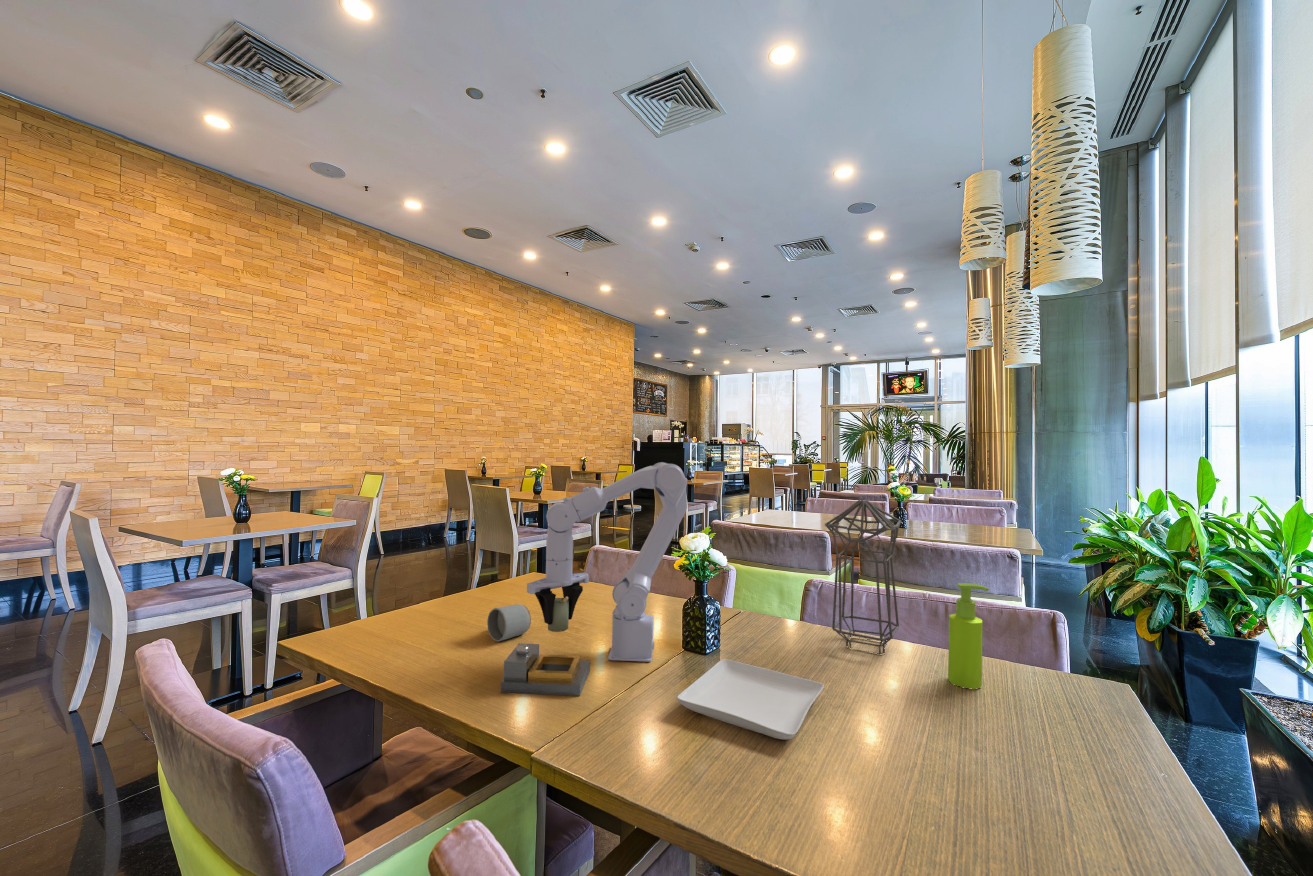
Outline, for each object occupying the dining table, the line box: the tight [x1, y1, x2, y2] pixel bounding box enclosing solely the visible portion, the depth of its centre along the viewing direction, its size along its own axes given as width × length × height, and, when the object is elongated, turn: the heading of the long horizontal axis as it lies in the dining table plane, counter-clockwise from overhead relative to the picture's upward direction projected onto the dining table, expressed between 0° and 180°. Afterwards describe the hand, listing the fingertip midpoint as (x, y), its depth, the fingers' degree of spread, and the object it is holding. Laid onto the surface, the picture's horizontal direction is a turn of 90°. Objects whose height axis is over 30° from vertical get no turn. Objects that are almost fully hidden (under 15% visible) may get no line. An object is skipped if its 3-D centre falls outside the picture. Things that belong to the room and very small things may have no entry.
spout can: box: [547, 596, 569, 633], centre depth 115 cm, size 4×6×8 cm
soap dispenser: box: [947, 582, 990, 690], centre depth 107 cm, size 6×7×20 cm
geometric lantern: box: [824, 499, 903, 655], centre depth 126 cm, size 16×16×35 cm
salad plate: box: [676, 658, 825, 740], centre depth 96 cm, size 21×21×3 cm
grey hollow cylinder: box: [486, 604, 532, 643], centre depth 129 cm, size 11×8×8 cm
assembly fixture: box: [500, 642, 591, 697], centre depth 105 cm, size 15×11×7 cm
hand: (558, 620), depth 115 cm, fingers closed on spout can, 4 cm apart
